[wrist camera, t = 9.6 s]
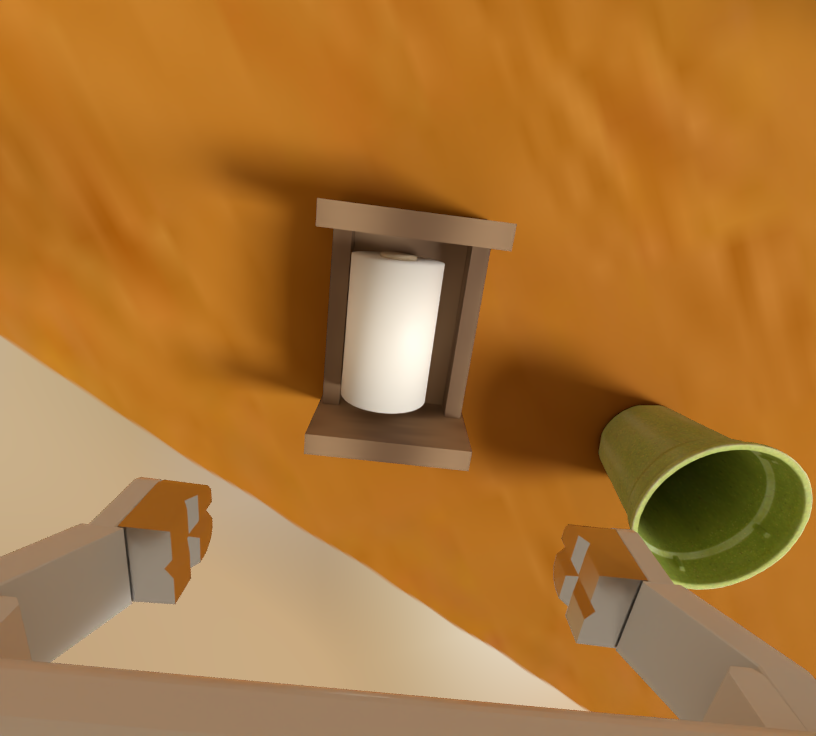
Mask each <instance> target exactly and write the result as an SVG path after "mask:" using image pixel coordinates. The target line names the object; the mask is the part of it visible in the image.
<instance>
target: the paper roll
mask: <svg viewBox="0 0 816 736" xmlns="http://www.w3.org/2000/svg"><path fill="white" fill-rule="evenodd" d="M444 267H445V264H444V263H443V262H440V261H436V260H432V259H428V258H423V257H417V256H415V255H411V254H405V253H398V252H374V251H355V252H352V255H351V268H350V281H349V294H348V307H347V320H346V333H345V346H344V359H343V372H342V385H341V395H342V397H343V399H344V400H345V401H347V402H348V403H350V404H351V405H353V406H355V407H358V408H361V409H364V410H367V411H372V412H377V413H389V414H396V413H406V412H411V411H414V410H416V409H418V408H420V407H421V406H423V404H424V402H425V396H426V389H427V383H428V376H429V369H430V362H431V355H432V349H433V342H434V335H435V328H436V321H437V314H438V308H439V301H440V294H441V287H442V280H443V273H444Z"/></svg>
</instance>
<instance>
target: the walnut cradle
mask: <svg viewBox="0 0 816 736" xmlns="http://www.w3.org/2000/svg"><path fill="white" fill-rule="evenodd" d="M516 225H517V224H512V223H505V222H497V221H489V220H482V219H474V218H466V217H459V216H451V215H444V214H436V213H428V212H421V211H413V210H405V209H398V208H390V207H382V206H375V205H367V204H360V203H352V202H344V201H337V200H329V199H321V198H317V210H316V226H318V227H326V228H334V229H333V244H332V260H331V276H330V291H329V307H328V323H327V338H326V354H325V370H324V385H323V396H322V398H321V400H320V402H319V404H318V407H317V409H316V411H315V413H314V415H313V418H312V420H311V422H310V424H309V426H308V429H307V431H306V433H305V445H304V454H312V455H321V456H331V457H340V458H350V459H359V460H369V461H378V462H388V463H397V464H407V465H416V466H426V467H435V468H445V469H454V470H463V471H469V466H470V460H471V455H472V450H471V446H470V442H469V438H468V435H467V431H466V427H465V424H464V420H463V416H462V413H461V411H462V405H463V400H464V394H465V389H466V383H467V378H468V372H469V366H470V361H471V355H472V350H473V344H474V339H475V333H476V328H477V322H478V316H479V311H480V305H481V300H482V294H483V289H484V283H485V278H486V272H487V267H488V261H489V255H490V250H491V249H498V250H505V251H512V246H513V241H514V236H515V231H516ZM355 251H374V252H398V253H405V254H411V255H415V256H417V257H423V258H428V259H432V260H436V261H440V262H443V263H444V264H445V267H444V273H443V280H442V287H441V294H440V301H439V308H438V314H437V321H436V328H435V335H434V342H433V349H432V355H431V362H430V369H429V376H428V383H427V389H426V396H425V402H424V404H423V406H421V407H420V408H418V409H416V410H414V411H411V412H406V413H396V414H389V413H377V412H372V411H367V410H364V409H361V408H358V407H355V406H353V405H351V404H350V403H348V402H347V401H345V400H344V399H343V397H342V395H341V385H342V372H343V359H344V346H345V333H346V320H347V307H348V294H349V281H350V268H351V255H352V252H355Z"/></svg>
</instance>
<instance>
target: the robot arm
mask: <svg viewBox="0 0 816 736" xmlns="http://www.w3.org/2000/svg"><path fill="white" fill-rule="evenodd" d="M211 502H212V499H211V489H210V488H209V486H208V485H201V484H192V483H185V482H178V481H170V480H161V479H152V478H143V477H140V478H137V479H135V480H133V481H132V482H131V483H130V484H129V486H127V487H126V488H125V489H124V490H123V491H122V492H121V493H120V494H119V495H118V496H117V497H116V498H115V499H114V500H113V501H112V502H111V503H110V504H109V505H108V506H107V507H106V508H105V509H104V510H103V511H102V512H101V513H100V514H99V515H98V516H96V517H95V518H94V519H93V521H92V522H90V523H89V524H79V525H76V526H74V527H71V528H69V529H67V530H64V531H62V532H59V533H57V534H54V535H52V536H50V537H47V538H45V539H43V540H40V541H38V542H35V543H33V544H30V545H28V546H26V547H23V548H21V549H18V550H16V551H13V552H11V553H9V554H6V555H4V556H2V557H0V736H816V680H815V679H814V677H813V676H812V675H811V674H810V673H809V672H808V671H807V670H805V669H804V668H802V667H801V666H799V665H798V664H796V663H795V662H793V661H792V660H790V659H789V658H788V657H786V656H785V655H783V654H782V653H780V652H779V651H777V650H776V649H774V648H773V647H771V646H770V645H768V644H767V643H765V642H764V641H763V640H761V639H760V638H758V637H757V636H755V635H754V634H752V633H751V632H749V631H748V630H746V629H745V628H743V627H742V626H741V625H739V624H738V623H736V622H735V621H733V620H732V619H730V618H729V617H727V616H726V615H724V614H723V613H721V612H720V611H718V610H717V609H716V608H714V607H713V606H711V605H710V604H708V603H707V602H705V601H704V600H702V599H701V598H699V597H698V596H696V595H695V594H694V593H692V592H691V591H689V590H688V589H686V588H685V587H683V586H682V585H675V584H674V583H673V582H672V580H671V579H670V578H669V576H668V575H667V573H666V572H665V571H664V569H663V568H662V566H661V565H660V564H659V562H658V561H657V559H656V558H655V556H654V555H653V554H652V552H651V551H650V549H649V548H648V547H647V545H646V544H645V542H644V541H643V540H642V538H641V537H640V535H639V534H638V533H637V532H635V531H634V530H630V529H618V528H610V529H608V528H598V527H589V526H579V525H569V524H568V525H567V526H566V528H565V529H564V532H563V535H562V538H561V539H562V541H563V543H564V545H565V548H564V549H562V550H561V551H560V552H559V553H557V555H556V559H555V563H554V584H555V589H556V591H557V594H558V597H559V599H561V600H562V601H563V602H564V603H565V604H566V605H567V606H568V609H567V612H566V618H567V620H568V623H569V626H570V628H571V631H572V633H573V636H574V638H575V641H576V643H579V644H587V645H595V646H603V647H611V648H616V651H617V652H618V653H619V654H620V655H621V656H622V657H623V658H624V660H625V661H626V662H627V663H628V664H629V665H630V666H631V667H632V668H633V669H634V670H635V671H636V672H637V673H638V675H639V676H640V677H641V678H642V679H643V680H644V681H645V682H646V683H647V684H648V685H649V686H650V687H651V689H652V690H653V691H654V692H655V693H656V694H657V695H658V696H659V697H660V698H661V699H662V700H663V701H664V703H665V704H666V705H667V706H668V707H669V708H670V709H671V710H672V711H673V712H674V713H675V714H676V715H677V717H678V718H679V719H680V720H678V719H667V718H656V717H644V716H633V715H622V714H611V713H599V712H588V711H577V710H566V709H555V708H545V707H534V706H523V705H512V704H500V703H491V702H479V701H469V700H458V699H447V698H436V697H424V696H414V695H403V694H390V693H380V692H370V691H358V690H347V689H337V688H325V687H314V686H303V685H291V684H281V683H269V682H259V681H248V680H237V679H226V678H215V677H204V676H192V675H181V674H171V673H159V672H149V671H138V670H126V669H115V668H104V667H94V666H83V665H72V664H61V663H50V662H52V661H53V660H54V659H56V658H57V657H59V656H60V655H61V654H63V653H64V652H66V651H67V650H68V649H70V648H71V647H73V646H74V645H75V644H77V643H78V642H79V641H81V640H82V639H84V638H85V637H86V636H88V635H89V634H91V633H92V632H93V631H95V630H96V629H97V628H99V627H100V626H102V625H103V624H104V623H106V622H107V621H109V620H110V619H111V618H113V617H114V616H115V615H117V614H118V613H120V612H121V611H122V610H124V609H125V608H127V607H128V606H129V605H130V604H132V601H134V602H149V603H164V604H176V602H177V600H178V599H179V597H180V595H181V594H182V592H183V591H184V589H185V587H186V586H187V584H188V582H189V581H190V579H191V569H190V568H191V567H193V566H195V565H196V564H198V563H200V562H201V560H202V558H203V557H204V555H205V553H206V551H207V548H208V545H209V542H210V539H211V534H212V517H211V516H210V515H209V513H208V512H207V511H206V509H207V508H208V506H209V505H210V503H211Z"/></svg>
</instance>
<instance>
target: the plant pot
mask: <svg viewBox="0 0 816 736" xmlns="http://www.w3.org/2000/svg"><path fill="white" fill-rule="evenodd" d="M599 457H600V460H601V462H602V464H603V466H604V468H605V470H606V472H607V474H608V476H609V478H610V480H611V482H612V484H613V486H614V488H615V490H616V492H617V495H618V497H619V499H620V501H621V503H622V505H623V507H624V509H625V511H626V513H627V515H628V522H629V526H630V530H634V531H635V532H637V533H638V534H639V535H640V537H641V538H642V540H643V541H644V542H645V544H646V545H647V547H648V548H649V549H650V551H651V552H652V554H653V555H654V556H655V558H656V559H657V561H658V562H659V564H660V565H661V566H662V568H663V569H664V571H665V572H666V573H667V575H668V576H669V578H670V579H671V580H672V582H673V583H674V584H675V585H682V586H683V587H685V588H687V589H697V590H699V589H715V588H720V587H725V586H729V585H733V584H735V583H738V582H741V581H744V580H746V579H749V578H751V577H753V576H755V575H756V574H758V573H760V572H762V571H764V570H765V569H767V568H768V567H770V566H771V565H773V564H774V563H776V562H777V561H778V560H780V559H781V558H782V557H783V556H784V555H785V554H786V553H787V552H788V551H789V550H790V549H791V547H792V546H793V545H794V544H795V543H796V541H797V539H798V538H799V537H800V535H801V534H802V532H803V530H804V528H805V526H806V524H807V522H808V520H809V517H810V513H811V509H812V489H811V485H810V481H809V479H808V476H807V474H806V473H805V472H804V470H803V469H802V467H801V466H800V465H799V464H798V463H797V462H796V461H795V460H794V459H793V458H791V457H790V456H788V455H787V454H785V453H783V452H781V451H779V450H777V449H775V448H772V447H770V446H767V445H763V444H758V443H752V442H743V441H739V440H735V439H730V438H728V437H726V436H724V435H722V434H720V433H718V432H716V431H714V430H711V429H709V428H707V427H705V426H703V425H701V424H699V423H697V422H695V421H693V420H691V419H689V418H687V417H685V416H683V415H681V414H679V413H677V412H675V411H673V410H671V409H669V408H667V407H664V406H661V405H638V406H634V407H631V408H629V409H626V410H624V411H623V412H621V413H619V414H618V415H617V416H615V417H614V418H613V419H612V420H611V421H610V422H609V423H608V424H607V426H606V427H605V428H604V430H603V432H602V435H601V441H600V447H599Z"/></svg>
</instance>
